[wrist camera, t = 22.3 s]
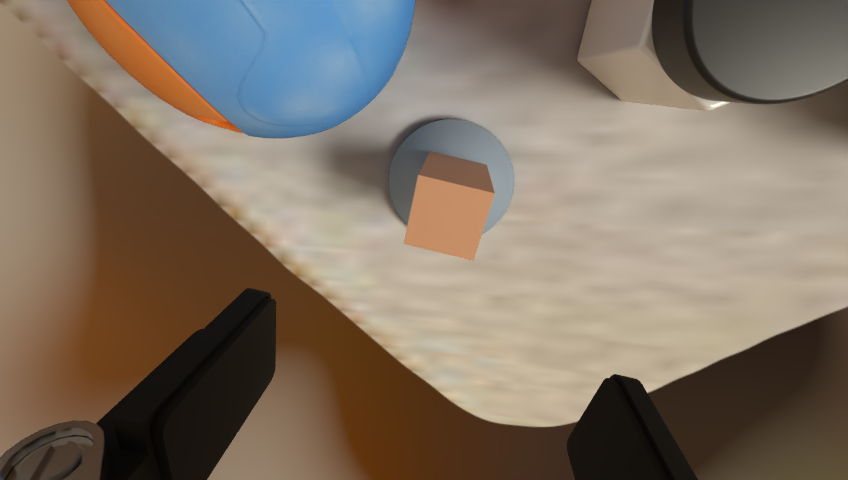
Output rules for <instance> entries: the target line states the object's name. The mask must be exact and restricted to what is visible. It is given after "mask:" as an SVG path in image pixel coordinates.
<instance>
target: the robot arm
mask: <svg viewBox="0 0 848 480" xmlns="http://www.w3.org/2000/svg"><path fill="white" fill-rule="evenodd" d="M275 352H276V301H275V300H274V299H271V295H270V293H268V292H264V291H259V290H256V289H251V288H248V289H246V290H245V291H243V292H242V293H241V294H240V295H239V296H238V297H237V298H236V299H235V300H234V301H233V302H232V303H231V304H230V305H228V306H227V307H226V308H225V309H224V310H223V311H222V312H221V313H220V314H219V315H218V316H217V317H216V318H215V319H214V320H213V321H212V322H211V323H209V324H208V325H207V326H206V327H205V328H204V329H200V330H198V331H196V332H195V333H194V334H192V335H191V336H190V337H189V338H188V339H187V340H186V341H185V342H184V343H183V344H182V345H180V346H179V347H178V348H177V349H176V350H175V351H174V352H173V353H172V354H171V355H170V356H168V357H167V358H166V359H165V360H164V361H163V362H162V363H161V364H160V365H159V366H158V367H157V368H155V369H154V371H152V372H151V373H150V374H149V375H148V376H147V377H146V378H145V379H144V380H143V381H141V382H140V383H139V384H138V385H137V386H136V387H135V388H134V389H133V390H132V391H131V392H130V393H128V395H126V396H125V397H124V398H123V399H122V400H121V401H120V402H119V403H118V404H117V405H116V406H114V407H113V408H112V409H111V410H110V411H109V412H108V413H107V414H106V415H105V416H104V417H103V418H102V419H100V420H99V422H97V423H96V424H95V423H92V422H89V421H76V420H75V421H74V420H73V421H68V422H63V423H58V424H55V425H52V426H50V427H47V428H44V429H41V430H39V431H37V432H35V433H33V434H32V435H30V436H28V437H26V438H24V439H23V440H21V441H20V442H18V443H17V444H15V445H14V446H13V447H11V448H10V449H9V450H7V451H6V452H5V453H4V454H3V455H2V456H1V457H0V480H207V479H208V477H209V475H210V474H211V473H212V471H213V469H214V468H215V466H216V465H217V463H218V462H219V460H220V459H221V457H222V455H223V454H224V452H225V451H226V449H227V448H228V446H229V445H230V443H231V442H232V440H233V439H234V437H235V436H236V434H237V432H238V431H239V429H240V428H241V426H242V425H243V423H244V422H245V420H246V419H247V417H248V416H249V414H250V412H251V411H252V409H253V408H254V406H255V405H256V403H257V402H258V400H259V398H260V397H261V395H262V394H263V392H264V391H265V389H266V388H267V386H268V385H269V383H270V382H271V380H272V377H273V375H274V372H275V357H276V353H275ZM567 451H568V456H569V459H570V463H571V466H572V470H573V473H574V477H575V480H698V479H697V477H696V476H695V474H694V472H693V471H692V469H691V467H690V465H689V464H688V462H687V460H686V459H685V457H684V455H683V454H682V452H681V450H680V448H679V447H678V445H677V443H676V442H675V440H674V438H673V437H672V435H671V433H670V431H669V430H668V428H667V426H666V424H665V423H664V421H663V420H662V418H661V416H660V414H659V413H658V411H657V409H656V407H655V406H654V404H653V402H652V401H651V399H650V397H649V396H648V394H647V392H646V390H645V389H644V387H643V385H642V384H641V382H640V381H639V380H637V379H634V378H630V377H625V376H621V375H616V374H614V375H612V376H611V377H610V378H606V379H605V380H604V381H603V382H602V384H601V386H600V387H599V389H598V390H597V392H596V394H595V395H594V397H593V399H592V400H591V402H590V403H589V405H588V407H587V408H586V410H585V412H584V413H583V415H582V417H581V418H580V420H579V421H578V423H577V425H576V426H575V428H574V430H573V431H572V433H571V435H570V436H569V438H568V441H567Z"/></svg>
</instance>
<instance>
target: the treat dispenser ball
mask: <svg viewBox="0 0 848 480" xmlns="http://www.w3.org/2000/svg"><path fill="white" fill-rule="evenodd" d="M67 1H68V3H69V4H70V6H71V7H72V9H73V10H74V11H75V13H76V14H77V16H78V17H79V19H80V20H81V21H82V23H83V24H84V25H85V27H86V28H87V29H88V30H89V32H90V33H91V34H92V35H93V37H94V38H95V39H96V40H97V42H98V43H99V44H100V45H101V46H102V47H103V48H104V49H105V50H106V52H107V53H108V54H109V55H110V56H111V57H112V58H113V59H114V60H115V61H116V62H117V63H118V64H119V65H120V66H121V67H122V68H123V69H124V70H126V71H127V72H128V73H129V74H130V75H131V76H132V77H133V78H135V79H136V80H137V81H138V82H139V83H141V84H142V85H143V86H144V87H145V88H147V89H148V90H149V91H151V92H152V93H153V94H155V95H156V96H158V97H159V98H160V99H162V100H164V101H165V102H167V103H168V104H170V105H171V106H173V107H175V108H176V109H178V110H180V111H182V112H184V113H185V114H187V115H189V116H191V117H193V118H196V119H198V120H201V121H203V122H206V123H209V124H212V125H215V126H218V127H221V128H225V129H229V130H232V131H236V132H241V133H245V134H247V135H249V136H254V137H262V138H292V137H299V136H306V135H311V134H315V133H319V132H322V131H325V130H327V129H330V128H332V127H335V126H337V125H339V124H340V123H342V122H344V121H346V120H347V119H349V118H351V117H352V116H354V115H355V114H356V113H358V112H359V111H360V110H362V109H363V108H364V107H365V106H366V105H368V104H369V103H370V102H371V101H372V100H373V99H374V98H375V97H376V96H377V95H378V94H379V93H380V91H381V90H382V89H383V88H384V86H385V85H386V84H387V82H388V81H389V79H390V78H391V76H392V75H393V73H394V71H395V69H396V67H397V65H398V62H399V60H400V58H401V56H402V54H403V51H404V49H405V46H406V43H407V40H408V37H409V33H410V29H411V24H412V20H413V14H414V7H415V0H67Z"/></svg>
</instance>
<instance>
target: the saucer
mask: <svg viewBox="0 0 848 480" xmlns="http://www.w3.org/2000/svg"><path fill="white" fill-rule="evenodd" d="M430 151H432V152H436V153H440V154H444V155H449V156H453V157H457V158H461V159H465V160H469V161H473V162H478V163H482V164H486V165H487V167H488V171H489V174H490V178H491V181H492V185H493V188H494V192H495V195H494V198H493V201H492V204H491V207H490V210H489V213H488V216H487V220H486V223H485V226H484V229H483V232H482V234H484V233H485V232H487V231H488V230H490V229H491V228H492V227H493V226H494V225H495V224H496V223H497V222H498V221H499V220H500V219H501V218H502V216H503V215H504V214H505V212H506V210H507V208H508V206H509V204H510V201H511V198H512V195H513V189H514V173H513V167H512V164H511V160H510V158H509V156H508V153H507V151H506V150H505V148H504V147H503V145H502V144H501V142H500V141H499V140H498V139H497V138H496V137H495V136H494V135H493V134H492V133H491V132H490V131H488V130H487V129H485V128H484V127H482V126H480V125H478V124H476V123H473V122H470V121H467V120H461V119H443V120H437V121H434V122H431V123H428V124H426V125H424V126H422V127H420V128H418V129H417V130H415V131H414V132H413V133H412V134H410V135H409V136H408V137H407V138H406V139H405V140H404V141H403V143H402V144H401V145H400V147H399V148H398V150H397V151H396V153H395V155H394V157H393V160H392V163H391V166H390V170H389V179H388V182H389V192H390V197H391V200H392V203H393V205H394V207H395V210H396V211H397V213H398V214H399V216H400V217H401V219H402V220H403V221H404V222H405V223H406V224H407V225H408V221H409V216H410V211H411V207H412V202H413V197H414V193H415V188H416V183H417V178H418V174H419V172H420V170H421V168H422V166H423V164H424V162H425V160H426V158H427V156H428V154H429V152H430Z"/></svg>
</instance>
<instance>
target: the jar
mask: <svg viewBox="0 0 848 480" xmlns="http://www.w3.org/2000/svg"><path fill="white" fill-rule="evenodd" d="M577 61H578V62H579V63H580V64H581V65H582V66H583V67H585V68H586V69H587V70H588V71H589V72H590V73H591V74H593V75H594V76H595V77H596V78H597V79H598V80H599V81H600V82H602V83H603V84H604V85H605V86H606V87H607V88H608V89H609V90H611V91H612V92H613V93H614V94H615V95H616V96H617V97H618V98H620V99H621V100H622V101H624V102H632V103H641V104H650V105H659V106H667V107H676V108H685V109H694V110H703V111H709V110H712V109H715V108H718V107H720V106H723V105H725V104H728V103H730V102H736V103H750V104H779V103H786V102H791V101H797V100H801V99H804V98H808V97H811V96H814V95H817V94H819V93H822V92H825V91H827V90H829V89H831V88H834V87H836V86H838V85H840V84H842V83H844V82H846V81H847V80H848V0H592V1H591V5H590V9H589V13H588V17H587V21H586V25H585V29H584V33H583V37H582V41H581V44H580V48H579V52H578V56H577Z"/></svg>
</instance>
